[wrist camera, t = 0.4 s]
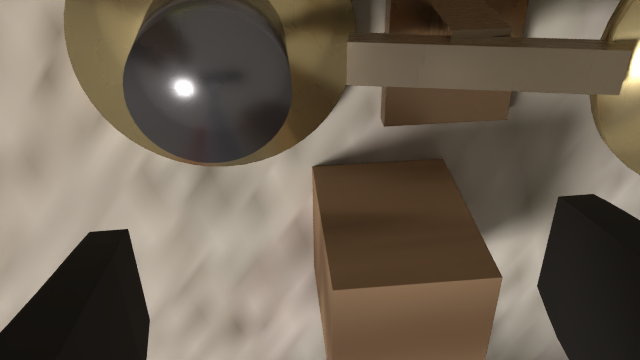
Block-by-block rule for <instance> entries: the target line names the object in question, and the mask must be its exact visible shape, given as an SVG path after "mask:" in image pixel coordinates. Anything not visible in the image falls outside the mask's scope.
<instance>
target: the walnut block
mask: <svg viewBox="0 0 640 360" xmlns="http://www.w3.org/2000/svg"><path fill="white" fill-rule="evenodd" d="M312 177H313V228H314V269H315V276H316V283H317V291H318V298H319V305H320V313H321V320H322V328H323V335H324V342H325V350H326V357H327V360H485V358H486V353H487V349H488V344H489V339H490V334H491V330H492V325H493V320H494V315H495V311H496V306H497V301H498V296H499V292H500V287H501V282H502V275H501V274H500V272H499V270H498V268H497V266H496V264H495V262H494V260H493V258H492V256H491V254H490V252H489V250H488V248H487V246H486V244H485V242H484V240H483V238H482V236H481V234H480V232H479V230H478V228H477V226H476V224H475V222H474V220H473V218H472V216H471V214H470V212H469V210H468V208H467V206H466V204H465V202H464V200H463V198H462V196H461V194H460V192H459V190H458V188H457V186H456V184H455V182H454V180H453V178H452V176H451V174H450V172H449V170H448V168H447V166H446V164H445V162H444V160H443V159H427V160H411V161H394V162H378V163H362V164H346V165H330V166H314V167H312Z"/></svg>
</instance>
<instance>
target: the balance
mask: <svg viewBox="0 0 640 360" xmlns="http://www.w3.org/2000/svg"><path fill="white" fill-rule="evenodd" d="M527 4H528V0H387V1H386V21H385V33H356V32H355V19H354V13H353V8H352V3H351V0H66V1H65V10H64V31H65V39H66V45H67V50H68V54H69V57H70V61H71V64H72V67H73V70H74V72H75V74H76V76H77V78H78V81H79V83H80V85H81V87H82V88H83V90H84V92H85V93H86V95H87V96H88V98H89V99H90V101H91V102H92V104H93V105H94V106H95V107H96V108H97V110H98V111H99V112H100V113H101V115H102V116H103V117H104V118H105V119H106V120H107V121H108V122H109V123H110V124H112V125H113V126H114V127H115V128H116V129H117V130H118V131H120V132H121V133H122V134H124V135H125V136H126V137H128V138H129V139H130V140H132V141H134V142H135V143H137V144H139V145H140V146H142V147H144V148H145V149H148V150H150V151H152V152H154V153H156V154H158V155H161V156H164V157H167V158H170V159H173V160H176V161H179V162H184V163H189V164H193V165H202V166H235V165H243V164H248V163H252V162H257V161H261V160H264V159H266V158H269V157H272V156H275V155H277V154H279V153H281V152H283V151H285V150H287V149H289V148H291V147H293V146H294V145H296V144H297V143H299V142H300V141H302V140H303V139H305V138H306V137H307V136H308V135H309V134H311V133H312V132H313V131H314V130H315V129H316V128H317V127H318V126H319V125H320V124H321V123H322V122H323V121H324V120H325V119H326V118H327V116H328V115H329V114H330V112H331V111H332V109H333V108H334V107H335V105H336V104H337V102H338V100H339V98H340V97H341V95H342V93H343V91H344V89H345V86H346V85H360V86H382V100H381V120H382V123H383V125H384V126H402V125H419V124H437V123H454V122H471V121H489V120H506V119H507V115H508V110H509V104H510V99H511V93H512V91H518V92H544V93H571V94H590V103H591V111H592V115H593V119H594V122H595V125H596V128H597V130H598V132H599V134H600V136H601V138H602V139H603V141H604V142H605V143H606V145H607V146H608V148H609V149H610V150H611V151H612V152H613V153H614V154H615V155H616V156H617V157H618V158H619V159H620V160H621V161H622V162H623V163H624V164H625V165H626V166H627V167H628V168H630V169H631V170H633V171H635V172H636V173H638V174H639V175H640V0H621V1H620V2H619V4H618V6H617V7H616V9H615V11H614V13H613V14H612V16H611V18H610V19H609V21H608V24H607V26H606V28H605V30H604V32H603V35H602V37H601V39H600V40H591V39H557V38H523V37H522V32H523V27H524V21H525V15H526V10H527Z"/></svg>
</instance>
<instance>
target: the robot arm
mask: <svg viewBox="0 0 640 360" xmlns="http://www.w3.org/2000/svg"><path fill="white" fill-rule="evenodd" d="M537 287H538V290H539V292H540V295H541V298H542V300H543V303H544V306H545V308H546V311H547V314H548V316H549V319H550V321H551V324H552V326H553V328H554V331H555V333H556V336H557V338H558V340H559V342H560V344H561V346H562V347H563V349H564V351H565V353H566V355H567V357H568V358H569V360H640V220H638V219H637V218H635V217H633V216H632V215H630V214H628V213H627V212H625V211H623V210H622V209H620V208H618V207H616V206H615V205H613V204H611V203H609V202H607V201H606V200H604V199H602V198H600V197H598V196H596V195H594V194H587V195H574V196H561V197H558V200H557V205H556V209H555V213H554V217H553V222H552V226H551V230H550V234H549V238H548V243H547V247H546V251H545V255H544V260H543V264H542V268H541V272H540V276H539V281H538V285H537ZM149 323H150V319H149V314H148V310H147V306H146V302H145V298H144V294H143V289H142V285H141V281H140V277H139V273H138V269H137V264H136V260H135V256H134V252H133V248H132V244H131V239H130V235H129V231H128V229H123V230H109V231H96V232H89V233H88V234H87V236H86V237H85V238H84V239H83V240H82V241H81V242H80V243H79V244H78V245H77V247H76V248H75V249H74V250H73V251H72V252H71V253H70V255H69V256H68V257H67V258H66V259H65V260H64V262H63V263H62V264H61V265H60V266H59V267H58V269H57V270H56V271H55V272H54V273H53V274H52V276H51V277H50V278H49V279H48V280H47V281H46V282H45V284H44V285H43V286H42V287H41V288H40V289H39V291H38V292H37V293H36V294H35V295H34V296H33V297H32V298H31V299H30V301H29V302H28V303H27V304H26V305H25V306H24V307H23V308H22V309H21V310H20V312H19V313H18V314H17V315H16V316H15V317H14V318H13V319H12V320H11V322H10V323H9V324H8V325H7V326H6V327H5V328H4V329H3V330H2V331H1V332H0V360H146V358H147V347H148V335H149Z"/></svg>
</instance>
